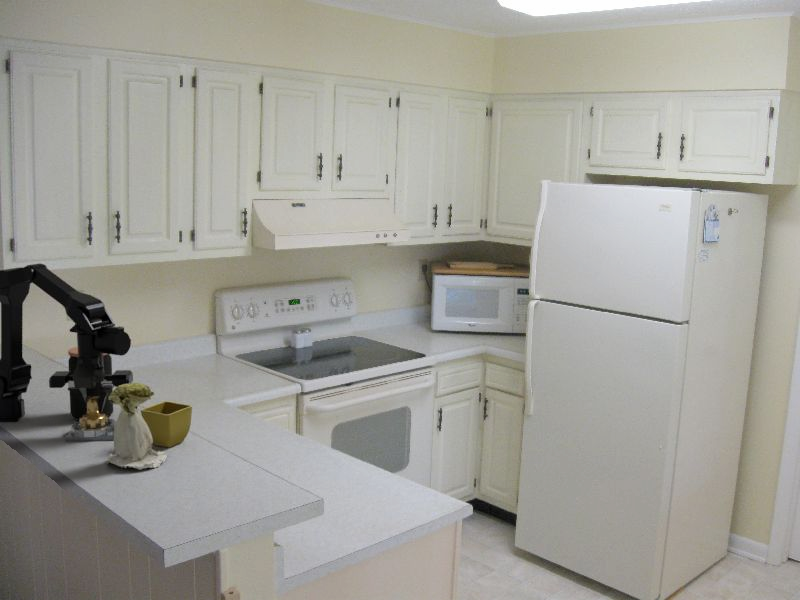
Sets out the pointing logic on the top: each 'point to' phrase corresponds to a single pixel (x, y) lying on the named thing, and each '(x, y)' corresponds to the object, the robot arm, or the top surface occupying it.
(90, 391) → the coffee jar
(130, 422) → the cream lumpy figure
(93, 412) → the planet gear
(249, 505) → the top surface
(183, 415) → the flower pot
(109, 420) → the carrier
